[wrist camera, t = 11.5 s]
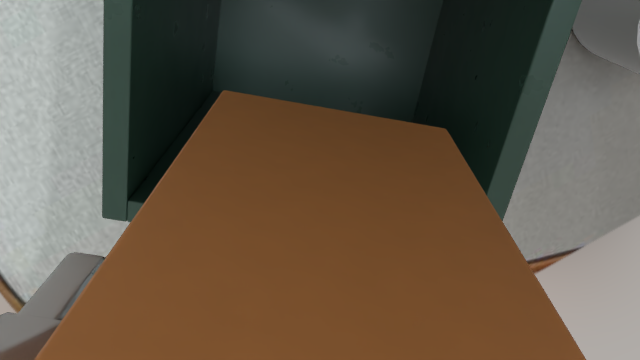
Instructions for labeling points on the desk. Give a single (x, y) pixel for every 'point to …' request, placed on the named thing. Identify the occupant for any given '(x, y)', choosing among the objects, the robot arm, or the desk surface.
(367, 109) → the trash bin
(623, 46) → the cup
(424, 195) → the carton
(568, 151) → the desk surface
